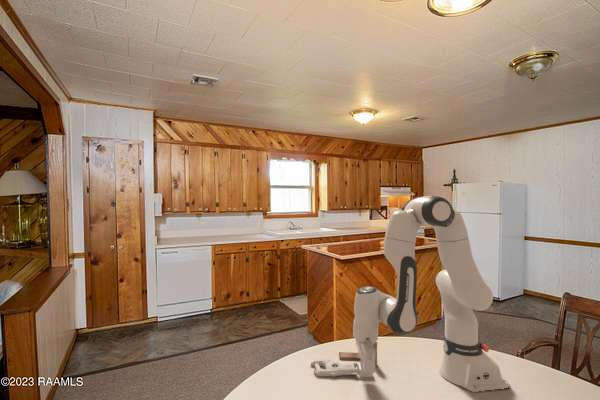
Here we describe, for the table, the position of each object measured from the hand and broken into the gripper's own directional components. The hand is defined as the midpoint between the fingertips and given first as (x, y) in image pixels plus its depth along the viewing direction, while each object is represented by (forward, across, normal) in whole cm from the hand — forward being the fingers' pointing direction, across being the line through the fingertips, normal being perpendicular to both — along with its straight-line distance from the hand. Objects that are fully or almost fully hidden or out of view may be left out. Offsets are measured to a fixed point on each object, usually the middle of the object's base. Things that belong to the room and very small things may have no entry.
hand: (364, 370), depth 105 cm
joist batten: (+4, +17, 0) cm, 18 cm away
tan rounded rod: (+4, +13, -6) cm, 15 cm away
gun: (+5, +7, +10) cm, 14 cm away
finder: (+5, +6, -2) cm, 8 cm away
